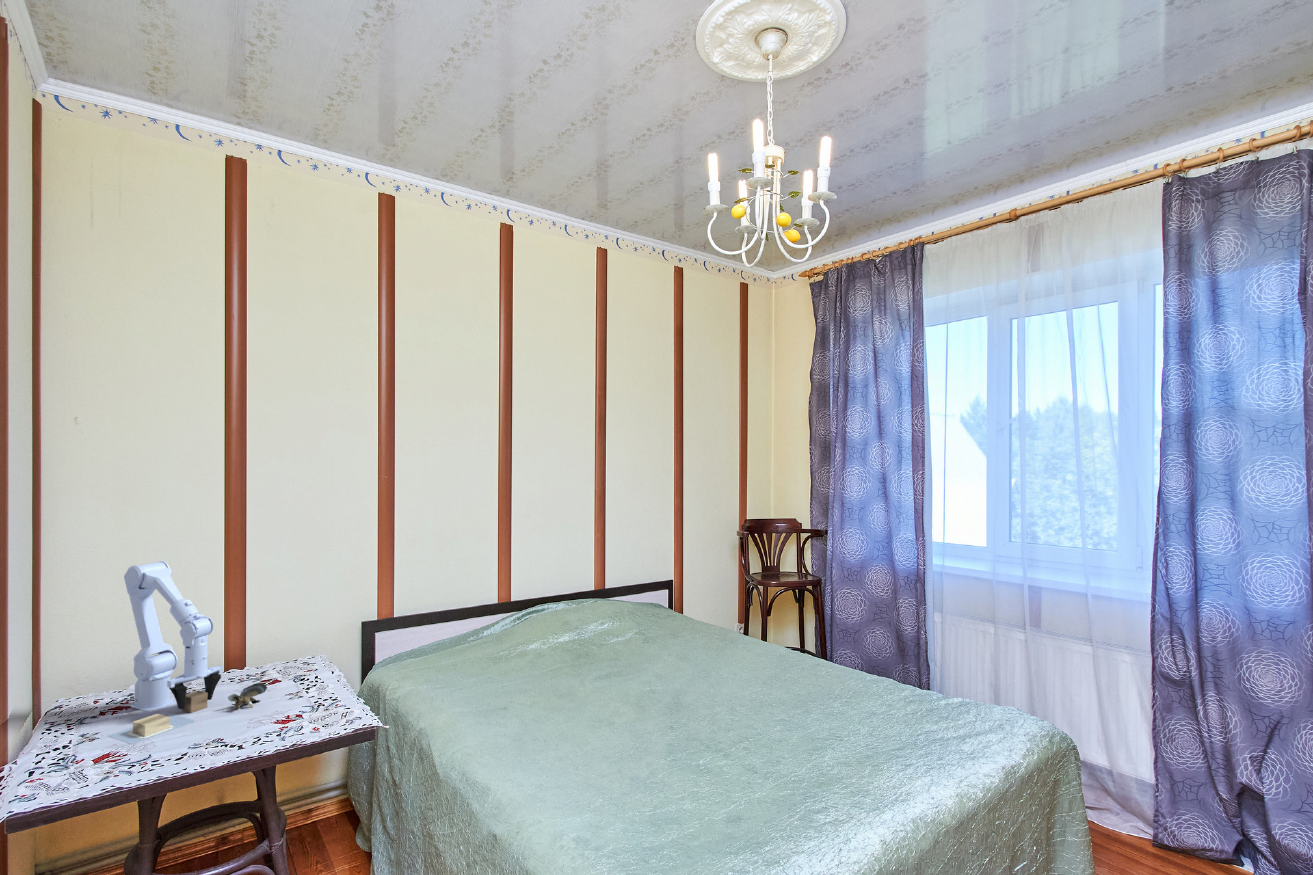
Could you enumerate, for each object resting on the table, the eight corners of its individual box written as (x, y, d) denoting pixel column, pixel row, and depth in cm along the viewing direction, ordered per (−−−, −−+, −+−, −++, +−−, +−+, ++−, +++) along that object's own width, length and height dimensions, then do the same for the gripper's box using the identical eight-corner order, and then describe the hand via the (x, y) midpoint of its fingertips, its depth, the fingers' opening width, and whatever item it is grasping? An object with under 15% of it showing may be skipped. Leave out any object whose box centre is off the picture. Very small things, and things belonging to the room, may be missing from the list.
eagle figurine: (252, 708, 188) (273, 692, 196) (238, 689, 187) (259, 674, 196) (234, 720, 189) (255, 703, 198) (219, 702, 188) (242, 685, 197)
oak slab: (132, 732, 173) (132, 721, 173) (157, 724, 178) (157, 713, 178) (144, 736, 170) (145, 725, 170) (169, 727, 176) (169, 717, 176)
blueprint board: (107, 737, 171) (107, 735, 171) (172, 715, 185) (172, 713, 185) (131, 745, 166) (131, 743, 166) (196, 722, 180) (196, 720, 180)
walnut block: (182, 712, 188) (182, 695, 188) (198, 706, 192) (198, 690, 192) (191, 714, 186) (191, 697, 186) (207, 709, 190) (207, 692, 190)
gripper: (177, 667, 181) (176, 714, 181) (229, 653, 195) (228, 697, 194) (163, 664, 184) (162, 710, 184) (215, 650, 197) (214, 693, 197)
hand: (195, 703), depth 189 cm, fingers open, 7 cm apart
